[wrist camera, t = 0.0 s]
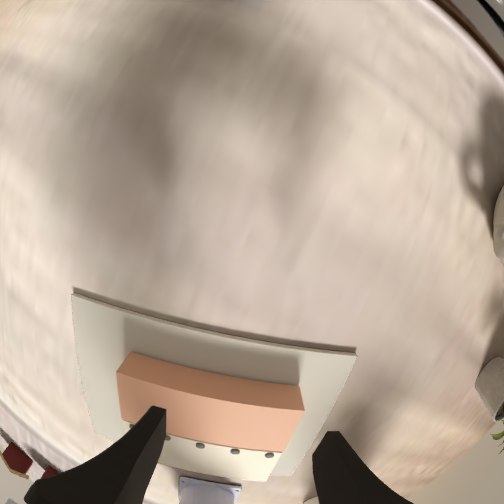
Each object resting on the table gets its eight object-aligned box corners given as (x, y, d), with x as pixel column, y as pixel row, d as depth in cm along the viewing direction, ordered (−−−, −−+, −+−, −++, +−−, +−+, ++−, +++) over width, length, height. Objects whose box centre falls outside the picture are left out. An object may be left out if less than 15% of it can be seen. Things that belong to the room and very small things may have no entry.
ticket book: (265, 460, 23) (265, 482, 20) (137, 434, 22) (128, 454, 19) (279, 429, 22) (282, 453, 19) (133, 399, 21) (122, 420, 18)
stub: (281, 428, 21) (283, 451, 18) (132, 397, 21) (121, 418, 18) (299, 386, 20) (304, 410, 17) (130, 351, 20) (115, 371, 17)
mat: (290, 473, 24) (290, 476, 24) (95, 430, 23) (94, 433, 23) (355, 353, 20) (357, 356, 20) (74, 292, 19) (71, 294, 19)
